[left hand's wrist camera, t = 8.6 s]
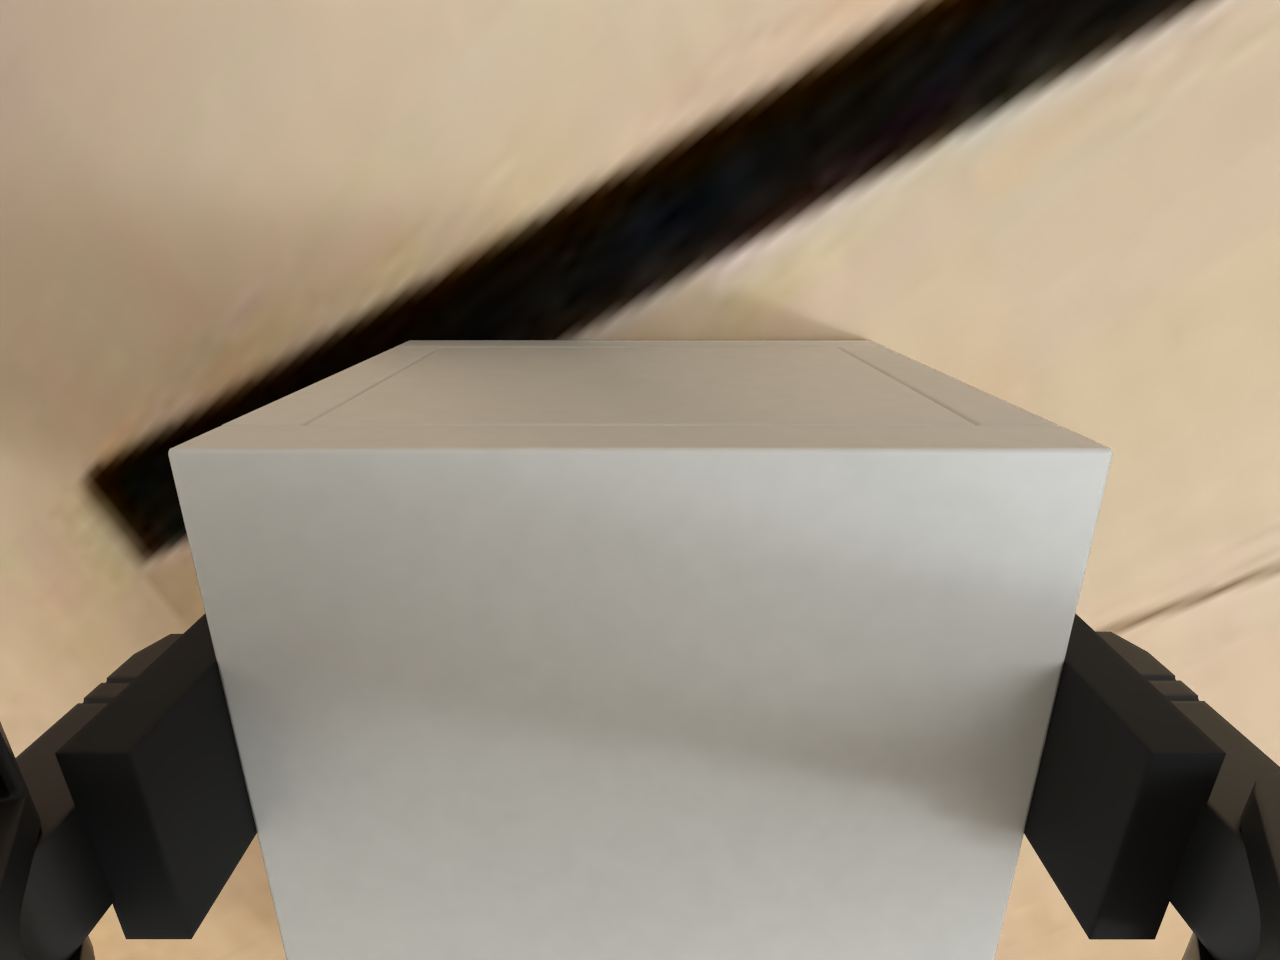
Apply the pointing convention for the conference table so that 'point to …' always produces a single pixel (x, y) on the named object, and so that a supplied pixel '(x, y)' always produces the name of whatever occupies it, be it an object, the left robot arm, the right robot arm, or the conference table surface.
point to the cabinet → (640, 647)
